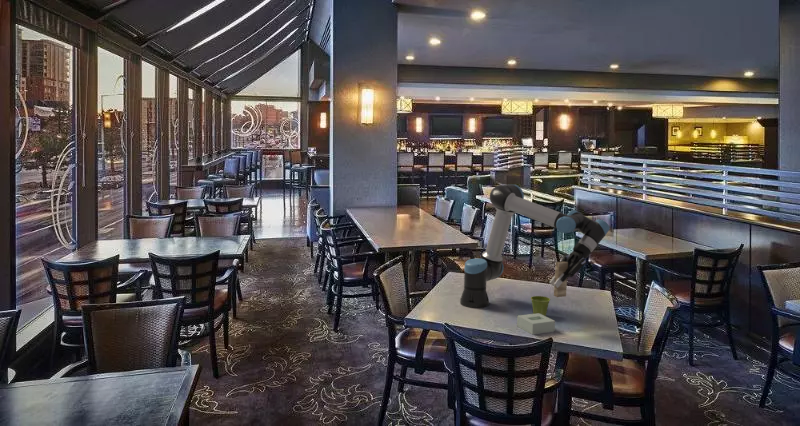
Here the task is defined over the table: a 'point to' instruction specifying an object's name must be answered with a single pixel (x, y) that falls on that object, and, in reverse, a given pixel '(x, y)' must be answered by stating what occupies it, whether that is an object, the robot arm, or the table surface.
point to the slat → (559, 269)
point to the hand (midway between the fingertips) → (553, 284)
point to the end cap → (536, 323)
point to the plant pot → (540, 304)
